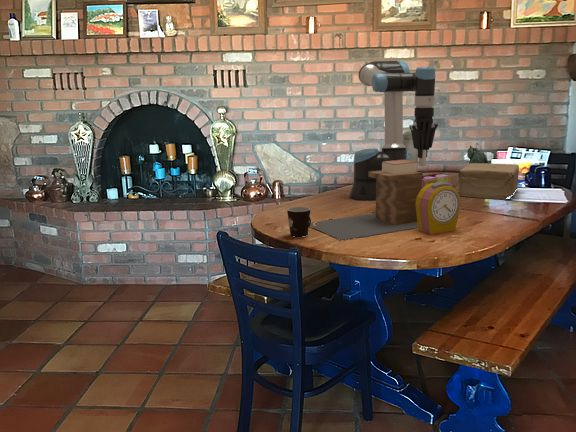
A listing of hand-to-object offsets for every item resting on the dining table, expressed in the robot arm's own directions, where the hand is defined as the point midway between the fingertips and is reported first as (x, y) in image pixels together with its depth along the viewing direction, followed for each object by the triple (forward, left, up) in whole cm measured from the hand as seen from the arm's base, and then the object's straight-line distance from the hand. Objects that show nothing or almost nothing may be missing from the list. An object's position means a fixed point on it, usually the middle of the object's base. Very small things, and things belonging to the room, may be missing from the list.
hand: (422, 165), depth 231 cm
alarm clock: (+20, -9, -22) cm, 31 cm away
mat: (0, -26, -21) cm, 33 cm away
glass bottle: (-72, +51, -22) cm, 91 cm away
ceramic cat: (-57, +89, -22) cm, 108 cm away
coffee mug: (+1, -58, -22) cm, 62 cm away
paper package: (-21, +61, -22) cm, 68 cm away
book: (0, -12, -1) cm, 12 cm away
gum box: (-15, +17, -22) cm, 31 cm away
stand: (0, -14, -21) cm, 25 cm away
